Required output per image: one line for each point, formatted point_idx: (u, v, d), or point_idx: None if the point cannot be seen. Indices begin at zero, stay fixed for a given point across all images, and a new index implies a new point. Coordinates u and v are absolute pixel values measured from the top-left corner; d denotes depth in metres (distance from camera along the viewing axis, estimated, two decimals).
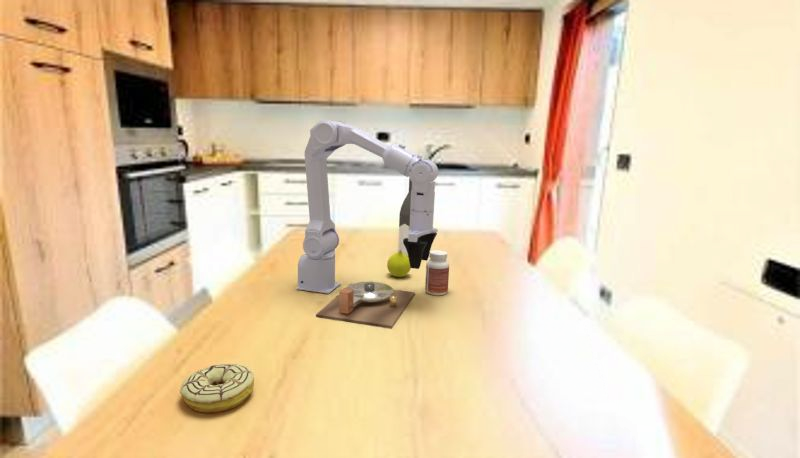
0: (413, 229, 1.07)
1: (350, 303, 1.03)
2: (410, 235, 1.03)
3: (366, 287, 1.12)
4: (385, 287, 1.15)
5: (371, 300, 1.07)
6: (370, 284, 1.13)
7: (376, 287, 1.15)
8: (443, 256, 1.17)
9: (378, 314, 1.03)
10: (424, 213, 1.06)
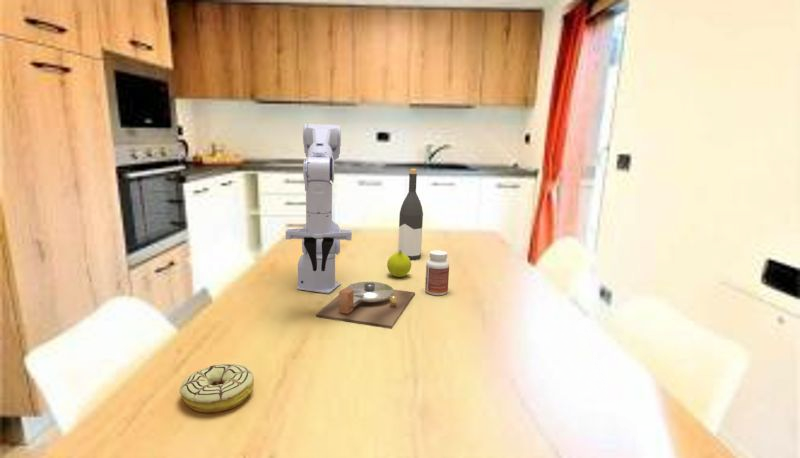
0: None
1: (350, 303, 1.03)
2: None
3: (366, 287, 1.12)
4: (385, 287, 1.15)
5: (371, 300, 1.07)
6: (370, 284, 1.13)
7: (376, 287, 1.15)
8: (443, 256, 1.17)
9: (378, 314, 1.03)
10: (306, 213, 0.98)
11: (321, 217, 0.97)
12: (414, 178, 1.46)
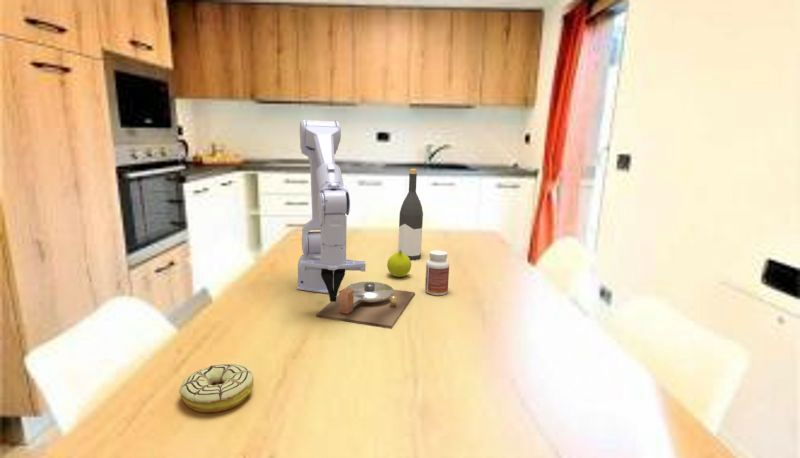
0: None
1: (350, 303, 1.03)
2: (301, 262, 1.01)
3: (366, 287, 1.12)
4: (385, 287, 1.15)
5: (371, 300, 1.07)
6: (370, 284, 1.13)
7: (376, 287, 1.15)
8: (443, 256, 1.17)
9: (378, 314, 1.03)
10: (321, 245, 0.99)
11: (336, 249, 0.98)
12: (414, 178, 1.46)
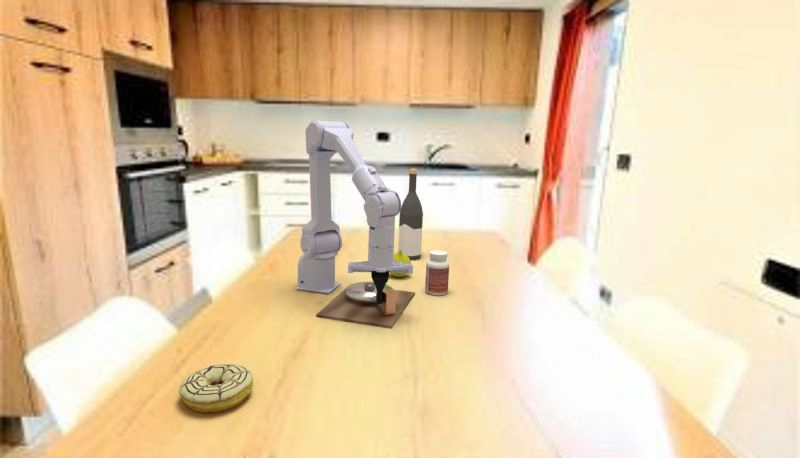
0: None
1: None
2: (348, 264, 1.01)
3: (370, 287, 1.12)
4: None
5: None
6: (370, 284, 1.13)
7: None
8: (443, 256, 1.17)
9: (378, 314, 1.03)
10: (370, 247, 0.99)
11: (385, 252, 0.98)
12: (414, 178, 1.46)
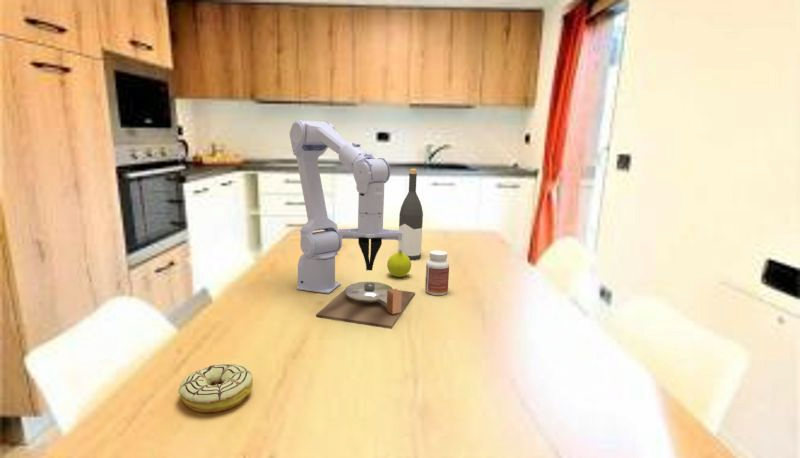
0: None
1: None
2: None
3: (371, 287, 1.12)
4: None
5: None
6: (370, 284, 1.13)
7: None
8: (443, 256, 1.17)
9: (378, 314, 1.03)
10: (359, 214, 1.00)
11: (374, 218, 0.99)
12: (414, 178, 1.46)
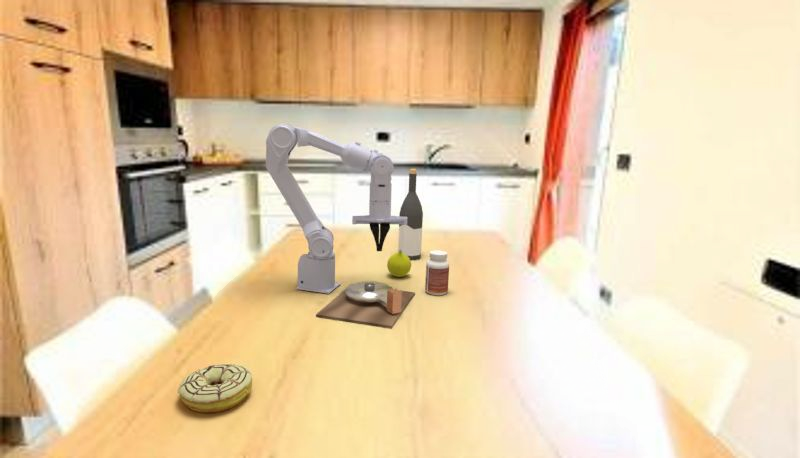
0: None
1: None
2: None
3: (371, 287, 1.12)
4: None
5: None
6: (370, 284, 1.13)
7: None
8: (443, 256, 1.17)
9: (378, 314, 1.03)
10: (370, 202, 1.17)
11: (383, 205, 1.16)
12: (413, 178, 1.46)
